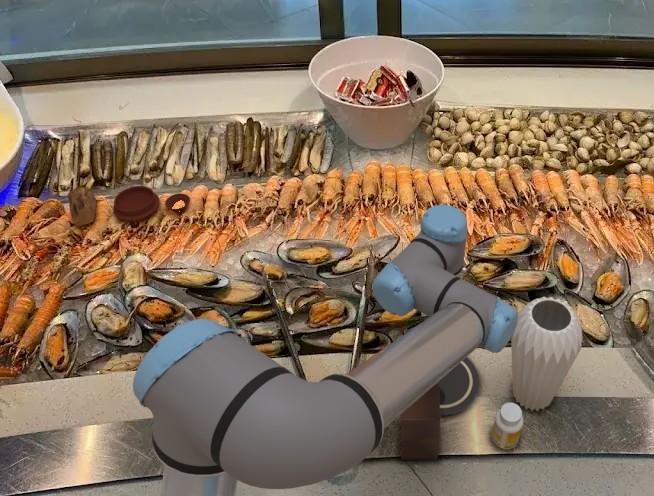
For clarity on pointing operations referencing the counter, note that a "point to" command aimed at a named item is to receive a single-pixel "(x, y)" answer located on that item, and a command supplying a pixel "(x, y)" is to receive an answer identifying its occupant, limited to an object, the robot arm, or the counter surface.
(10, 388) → the counter surface
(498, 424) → the supplement bottle
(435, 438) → the stand
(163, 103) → the counter surface
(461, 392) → the round coaster
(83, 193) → the decorative rock
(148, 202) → the pottery
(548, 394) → the vase
